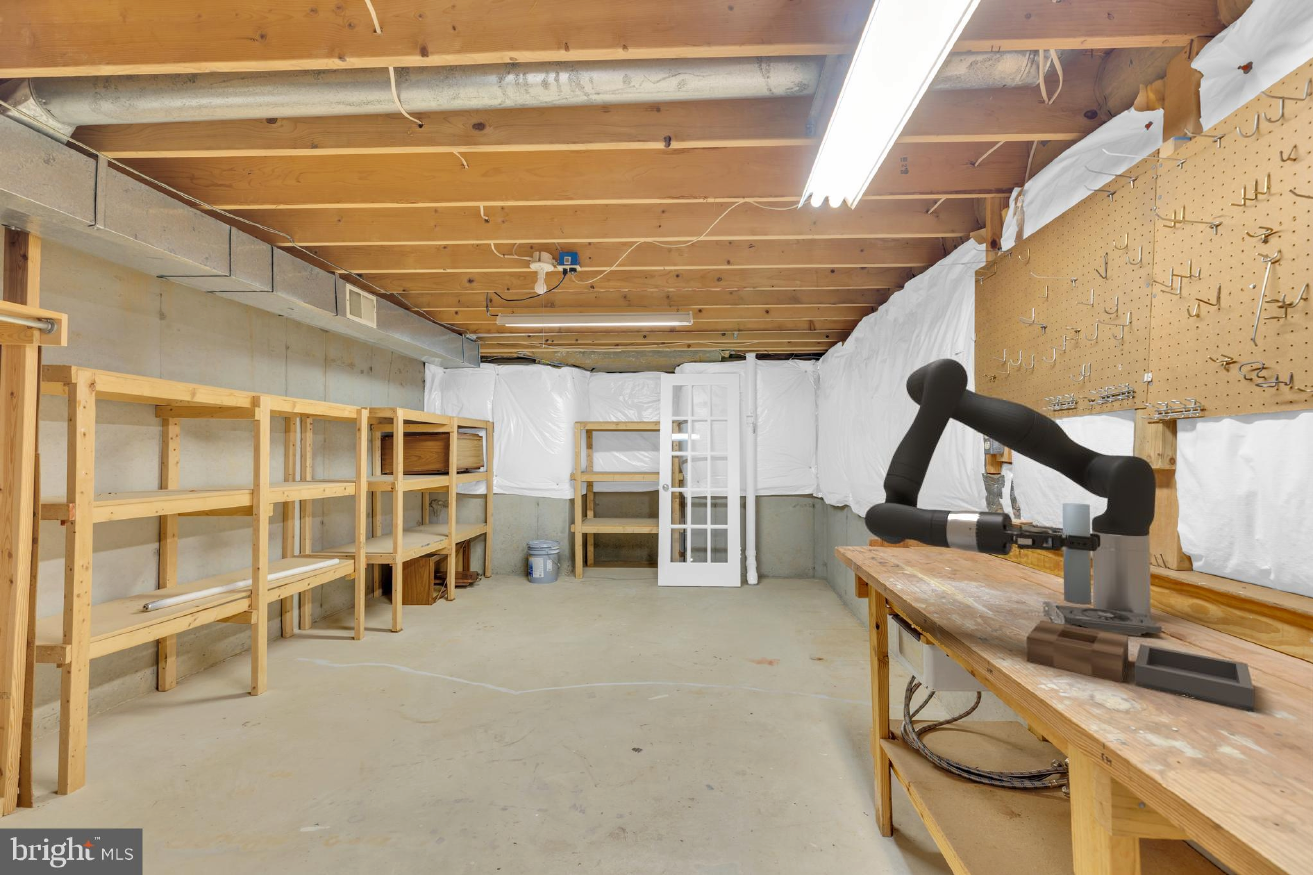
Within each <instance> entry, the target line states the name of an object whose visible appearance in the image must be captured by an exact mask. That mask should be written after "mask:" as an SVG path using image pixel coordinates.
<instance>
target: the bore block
mask: <svg viewBox="0 0 1313 875" xmlns="http://www.w3.org/2000/svg"><path fill="white" fill-rule="evenodd" d="M1028 661H1029V663H1033V664H1037V665H1043V666H1046V667H1051V668H1055V669H1060V670H1065V671H1069V672H1074V673H1078V674H1082V675H1087V676H1091V677H1095V678H1100V679H1104V680H1105V679H1106V680H1109V681H1114V682H1119V683H1123V682H1124V681H1123V680H1124V676H1125V673H1126V670H1127V666H1128V664H1129V635H1125V634H1116V633H1110V632H1104V631H1099V630H1093V629H1087V628H1085V627H1083V626H1081V627H1080V626H1078V627H1076V626H1070V625H1065V624H1059V623H1054V622H1051V621H1048V620H1042V619H1040V620H1039V622H1038V623H1037V624H1036V625H1035V627H1034V628H1033V629H1032V630H1031V631H1030V633H1029V634H1028V635H1027V636H1026V662H1028Z"/></svg>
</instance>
